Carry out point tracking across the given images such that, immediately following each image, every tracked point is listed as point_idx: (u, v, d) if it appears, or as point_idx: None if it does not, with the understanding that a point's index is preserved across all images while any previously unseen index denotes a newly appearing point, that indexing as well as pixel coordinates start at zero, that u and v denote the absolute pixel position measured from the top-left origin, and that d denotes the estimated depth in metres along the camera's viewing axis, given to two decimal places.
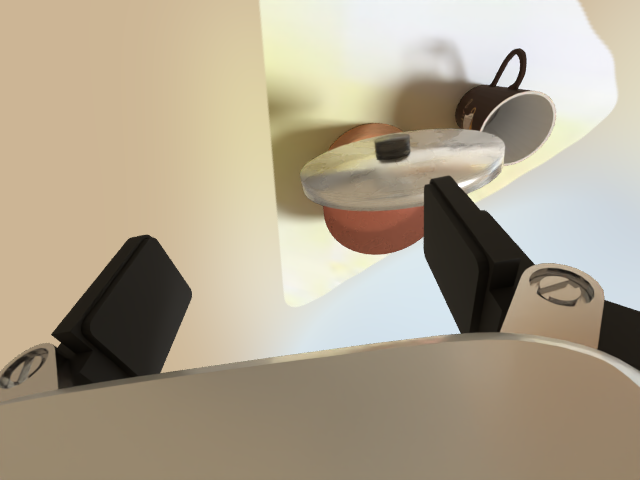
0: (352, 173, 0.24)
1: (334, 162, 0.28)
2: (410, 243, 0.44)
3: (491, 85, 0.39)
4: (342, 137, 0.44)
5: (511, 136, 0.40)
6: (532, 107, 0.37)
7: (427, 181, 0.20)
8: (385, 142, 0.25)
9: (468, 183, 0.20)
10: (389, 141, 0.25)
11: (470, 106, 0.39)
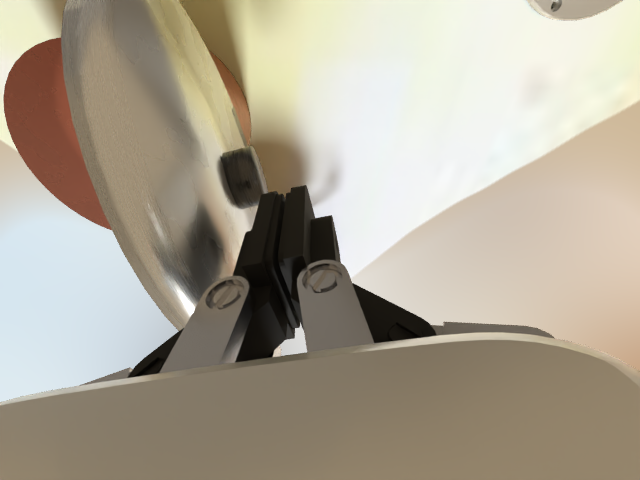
0: (186, 119, 0.11)
1: (193, 65, 0.13)
2: (78, 210, 0.26)
3: None
4: (222, 68, 0.28)
5: None
6: None
7: None
8: (255, 169, 0.14)
9: None
10: (257, 175, 0.15)
11: None
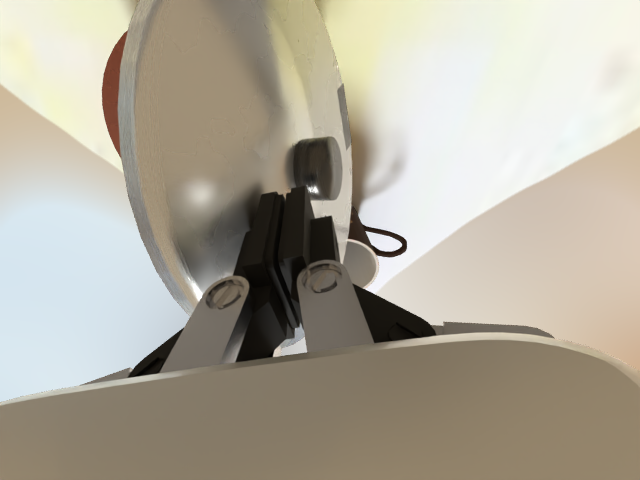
0: (250, 106, 0.10)
1: (288, 43, 0.13)
2: None
3: (363, 226, 0.38)
4: None
5: None
6: (351, 270, 0.37)
7: None
8: (324, 164, 0.13)
9: None
10: (326, 170, 0.14)
11: None
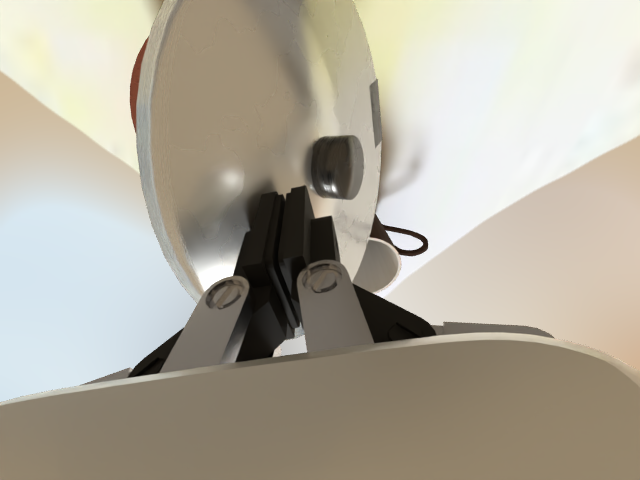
0: (267, 104, 0.10)
1: (315, 38, 0.13)
2: None
3: (382, 225, 0.37)
4: None
5: None
6: (370, 269, 0.36)
7: None
8: (341, 163, 0.13)
9: None
10: (343, 170, 0.13)
11: None
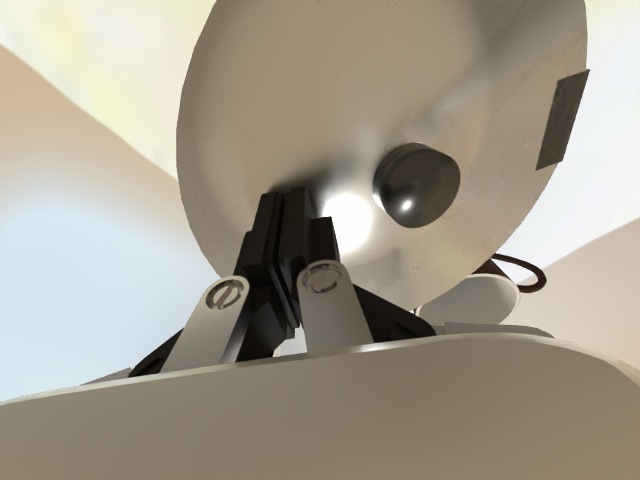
0: (315, 98, 0.09)
1: (437, 14, 0.09)
2: None
3: None
4: None
5: None
6: (462, 304, 0.30)
7: (225, 257, 0.12)
8: (400, 184, 0.11)
9: None
10: (403, 192, 0.11)
11: None
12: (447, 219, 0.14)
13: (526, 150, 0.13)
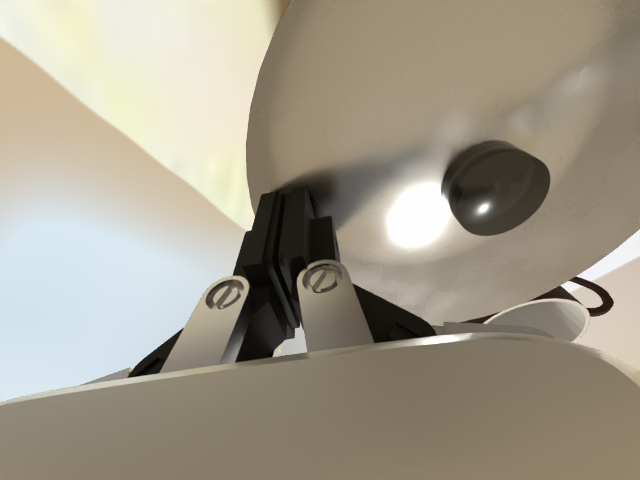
0: (392, 84, 0.09)
1: None
2: None
3: None
4: None
5: None
6: None
7: None
8: (474, 186, 0.10)
9: None
10: (476, 195, 0.10)
11: None
12: (524, 230, 0.13)
13: None
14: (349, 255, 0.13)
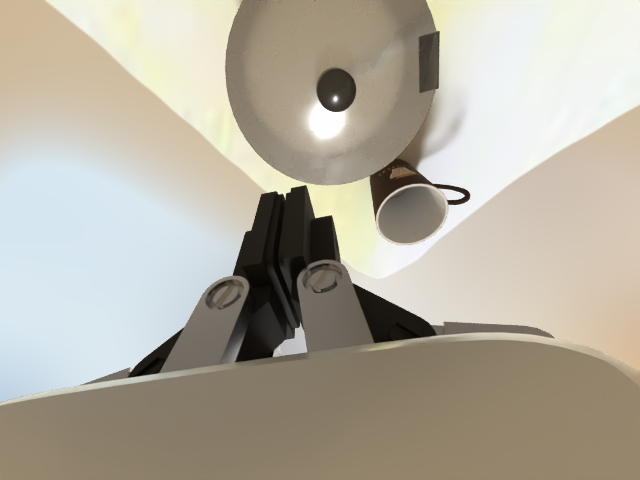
0: (283, 41, 0.22)
1: (338, 3, 0.21)
2: None
3: None
4: None
5: (383, 216, 0.41)
6: (414, 222, 0.40)
7: (244, 120, 0.25)
8: (322, 85, 0.23)
9: None
10: (324, 89, 0.23)
11: (413, 169, 0.38)
12: (365, 118, 0.26)
13: (409, 78, 0.24)
14: (279, 132, 0.26)
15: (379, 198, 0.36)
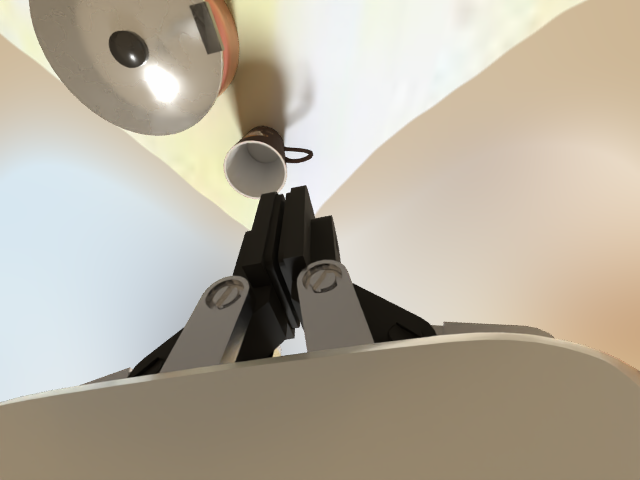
0: (76, 7, 0.27)
1: None
2: None
3: (284, 147, 0.46)
4: None
5: (248, 176, 0.46)
6: (273, 181, 0.46)
7: (63, 74, 0.30)
8: (111, 43, 0.28)
9: None
10: (115, 47, 0.28)
11: (267, 133, 0.44)
12: (167, 75, 0.31)
13: (194, 41, 0.30)
14: (97, 86, 0.31)
15: None
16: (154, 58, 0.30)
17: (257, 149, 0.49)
